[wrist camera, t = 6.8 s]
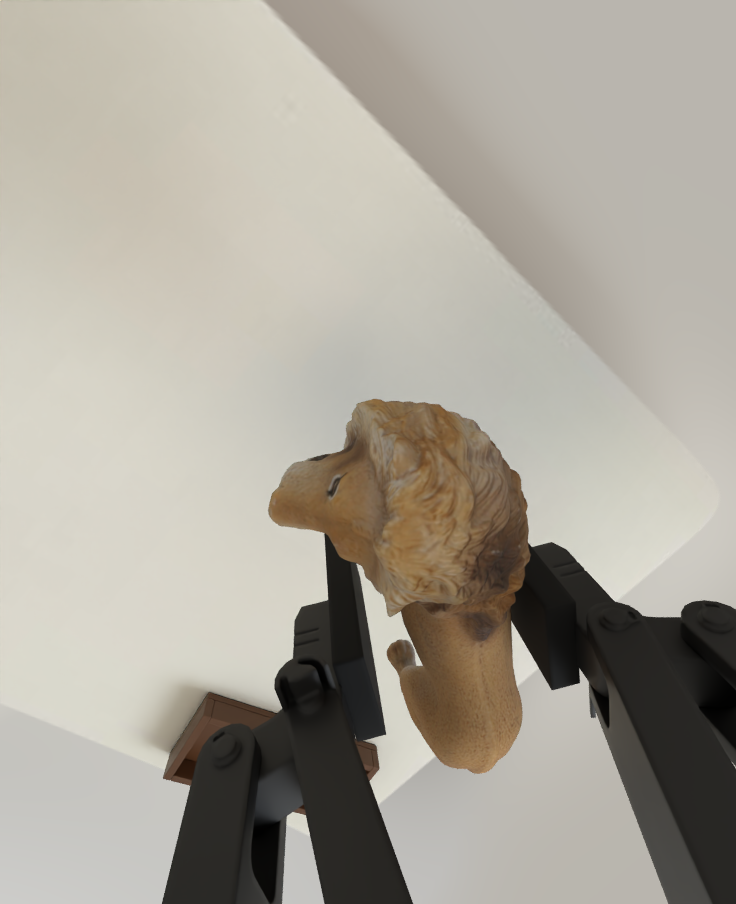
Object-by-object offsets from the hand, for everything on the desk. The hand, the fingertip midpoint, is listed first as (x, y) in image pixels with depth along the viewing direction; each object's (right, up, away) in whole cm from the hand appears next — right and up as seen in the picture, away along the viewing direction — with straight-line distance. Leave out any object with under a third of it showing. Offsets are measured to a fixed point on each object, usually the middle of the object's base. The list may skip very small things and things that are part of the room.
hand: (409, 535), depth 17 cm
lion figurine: (-1, 0, 0) cm, 1 cm away
